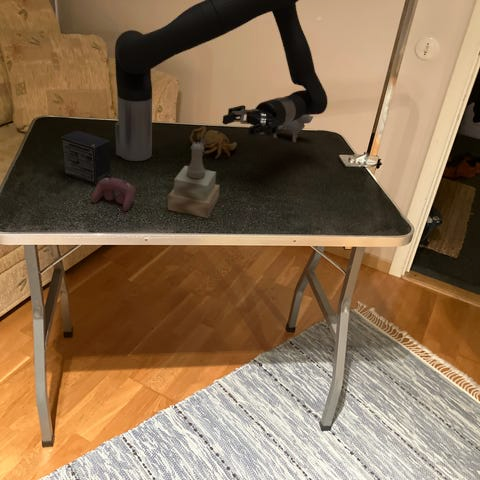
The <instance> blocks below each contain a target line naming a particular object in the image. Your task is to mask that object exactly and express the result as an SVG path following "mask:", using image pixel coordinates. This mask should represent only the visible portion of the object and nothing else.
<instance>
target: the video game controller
mask: <svg viewBox="0 0 480 480" xmlns="http://www.w3.org/2000/svg"><path fill="white" fill-rule="evenodd" d="M136 189H137V188H135V186H134V185H133V184H130V183H129V182H127V181H126V180H125V179H121V178H117V177H109V178H103V179H102V180H101V181H99V183H98V184H97V185H95V188H94V190H93V192H92V195H91V202H92V203H93V204H95V203H97V202H99V200H100V199H101V197H102V196H103V195H104V199H105V200H107V201H113V200H114V199H115V200H116V202H117V203H118V204H121V205H122V210H123V211H124V212H128V210H129V209H130V208H131V206H132V204H133V201H134V198H135V196H136V194H137V190H136ZM114 191H116V192H118V194H117V196H116V193H115V192H114Z"/></svg>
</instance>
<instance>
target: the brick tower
mask: <svg viewBox="0 0 480 480" xmlns="http://www.w3.org/2000/svg"><path fill="white" fill-rule="evenodd" d="M188 167H189V165H184V166H183V167H182V169H181V170H180V171H179V173H178V174H177V175H176V177H175V178H174V181H173V184H174V185H173V188H172V190H171V191H170V192H169V194H168V196H167V210H169V211H172V212H177V213H183V214H187V215H190V216H196V217H200V218H205V219H208V218H209V216H210V215H211V213H212V211H213V210H214V207H215V206H216V204H217V203H218V200H219V197H220V188H221V186H220V184H216V178H217V171H212V170H209V169H205V176H204V177H202V178H200V179H194V178H191V177H189V176H188V174H187V171H188V170H187V168H188Z"/></svg>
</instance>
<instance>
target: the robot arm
mask: <svg viewBox="0 0 480 480" xmlns="http://www.w3.org/2000/svg"><path fill="white" fill-rule="evenodd" d="M298 2H299V0H202V1H200V2H198V3H196V4H194V5H191V6H190V7H188V8H187V9H186V10H184V11H183V12H182V13H180V14H179V15H178V16H176V17H175V18H174V19H173V20H172V21H171V22H169V23H168V24H167V25H166V24H165V26H163V27H161V28H158V29H156V30H152V31H151V32H148V33H147V32H146V33H145V34H144V33H142V32H140V31H139V30H133V29H131V30H126V31H124V32H122V33H121V34H120V35H118V37H117V38H116V42H115V45H114V62H115V65H114V66H115V82H116V95H117V97H116V98H117V121H116V123H115V127H114V128H115V150H116V151H115V155H116V156H118V157H120V158H122V159H124V160H125V161H131V162H142V161H146V160H149V159H150V158H151V157H152V156H153V155H152V153H153V147H152V146H153V145H152V144H153V143H152V142H153V140H152V139H153V84H152V74H151V73H152V72H151V71H152V69H154V68H156V67H157V66H159V65H161V64H162V63H163V62H166V61H167V60H169V59H171V58H172V57H174V56H176V55H178V54H181V53H183V52H187V51H189V50H192V49H193V48H196V47H199V46H201V45H203V44H206V43H207V42H211V41H214V40H216V39H217V38H219V37H222V36H224V35H226V34H228V33H230V32H232V31H234V30H236V29H237V28H239V27H241V26H244V25H245V24H247V23H249V22H250V21H252V20H254V19H256V18H258V17H260V16H263V15H266V14H268V13H272V15H273V18H274V20H275V23H276V27H277V29H278V32H279V36H280V38H281V39H280V40H281V44H282V48H283V50H284V55H285V59H286V63H287V69H288V72H289V77H290V80H291V82H292V84H293V85H296V86H301V87H303V88H304V89H301V90H297V91H294V92H291V93H290V94H289V95H286V96H283V97H280V96H279V97H276V98H273V99H269V100H264V101H261V102H259V104H257V106H255V108H252V109H246V107H247V106H246V105H238V106H235V107H234V106H233V107H230V108H229V107H228V109H227V110H228V111H227V114H224V115H222V125H229V124H232V123H240V124H241V125H250V126H249V128H248V134H247V135H248V136H250V137H253V136H256V135H260V134H261V135H264V134H266V136H268V137H269V136H270V137H271V136H273V134H276V133H278V132H279V133H280V132H282V131H283V129H282V126H284V125H286V124H288V123H289V122H292V121H295V120H297V119H299V118H301V117H302V116H303V115H310V116H313V115H315V116H316V115H321V114H323V113H325V111H326V109H327V107H328V96H327V93H326V91H325V88H324V86H323V85H322V83H321V80H320V78H319V76H318V74H317V73H316V69H315V65H314V60H313V55H312V50H311V49H310V48H311V47H310V45H309V43H308V40H307V38H306V35H305V33H304V31H303V28H302V25H301V23H300V19H299V14H298V11H297V4H296V3H298ZM245 115H246V117H245ZM244 117H245V119H244Z"/></svg>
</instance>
